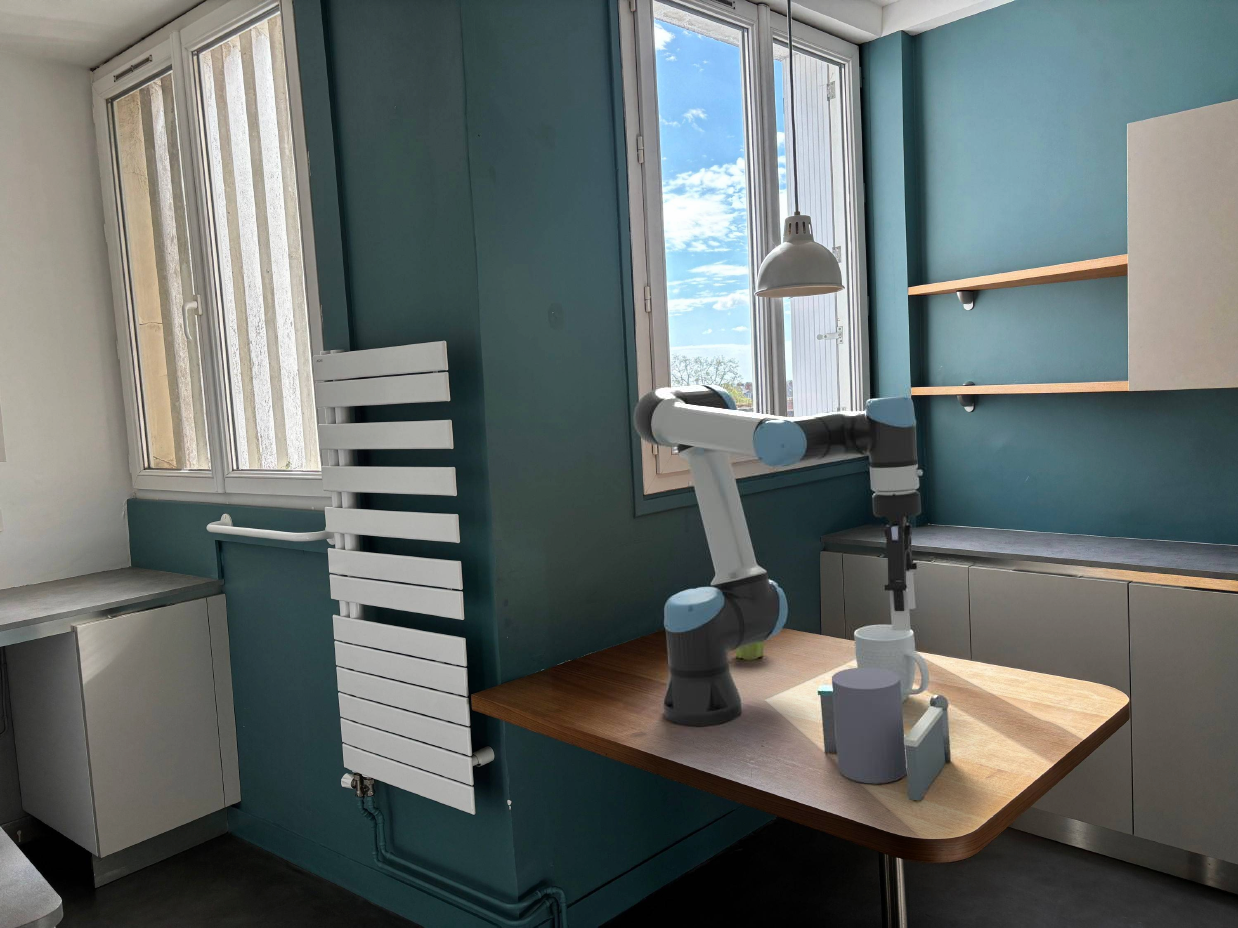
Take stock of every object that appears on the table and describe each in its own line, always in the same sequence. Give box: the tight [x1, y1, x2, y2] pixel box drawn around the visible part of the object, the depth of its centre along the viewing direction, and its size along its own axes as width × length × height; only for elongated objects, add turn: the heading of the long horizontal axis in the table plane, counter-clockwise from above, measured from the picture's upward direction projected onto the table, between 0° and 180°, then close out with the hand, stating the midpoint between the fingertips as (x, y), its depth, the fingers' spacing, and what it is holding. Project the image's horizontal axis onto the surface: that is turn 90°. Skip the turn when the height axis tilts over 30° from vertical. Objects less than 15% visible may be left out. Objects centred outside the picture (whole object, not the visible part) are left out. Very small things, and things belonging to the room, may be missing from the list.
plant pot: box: [734, 641, 765, 661], centre depth 201 cm, size 9×9×9 cm
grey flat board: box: [904, 705, 946, 802], centre depth 130 cm, size 14×2×9 cm, turn 145°
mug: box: [853, 624, 930, 703], centre depth 164 cm, size 15×11×13 cm
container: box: [831, 667, 907, 785], centre depth 136 cm, size 10×10×15 cm
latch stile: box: [817, 684, 838, 755], centre depth 145 cm, size 3×3×11 cm
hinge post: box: [929, 694, 952, 765], centre depth 137 cm, size 3×3×11 cm
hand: (904, 618), depth 143 cm, fingers open, 13 cm apart
